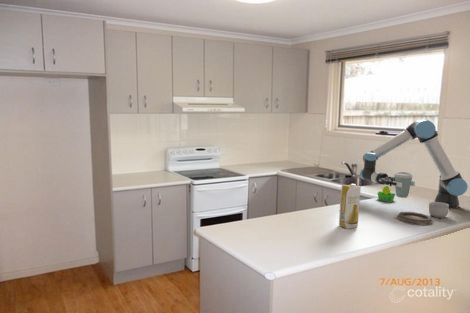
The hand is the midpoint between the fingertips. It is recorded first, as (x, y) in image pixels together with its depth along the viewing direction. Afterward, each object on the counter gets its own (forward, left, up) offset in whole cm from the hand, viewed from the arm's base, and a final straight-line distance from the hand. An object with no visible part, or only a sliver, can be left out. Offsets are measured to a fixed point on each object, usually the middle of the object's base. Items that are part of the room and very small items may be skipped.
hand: (408, 184), depth 229 cm
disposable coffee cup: (0, -4, -9) cm, 10 cm away
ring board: (+5, +10, -19) cm, 22 cm away
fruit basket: (-18, -31, -19) cm, 41 cm away
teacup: (-17, +9, -19) cm, 27 cm away
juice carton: (+52, +5, -19) cm, 55 cm away
